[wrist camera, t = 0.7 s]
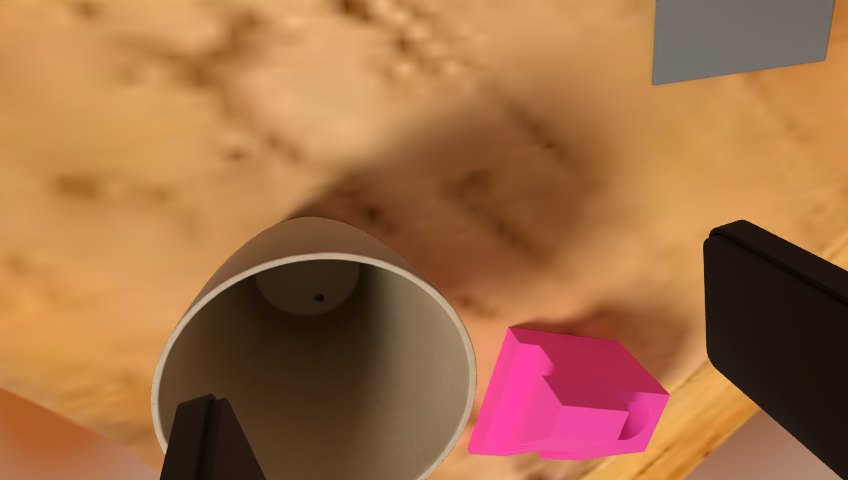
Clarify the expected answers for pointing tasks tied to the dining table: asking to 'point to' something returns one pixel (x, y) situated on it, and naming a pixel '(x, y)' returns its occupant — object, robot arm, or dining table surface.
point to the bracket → (566, 399)
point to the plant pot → (324, 356)
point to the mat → (736, 36)
